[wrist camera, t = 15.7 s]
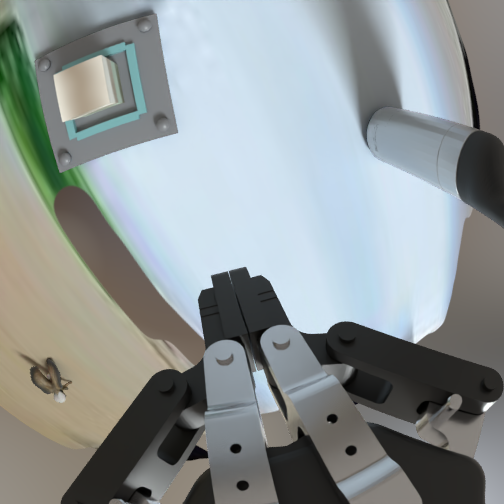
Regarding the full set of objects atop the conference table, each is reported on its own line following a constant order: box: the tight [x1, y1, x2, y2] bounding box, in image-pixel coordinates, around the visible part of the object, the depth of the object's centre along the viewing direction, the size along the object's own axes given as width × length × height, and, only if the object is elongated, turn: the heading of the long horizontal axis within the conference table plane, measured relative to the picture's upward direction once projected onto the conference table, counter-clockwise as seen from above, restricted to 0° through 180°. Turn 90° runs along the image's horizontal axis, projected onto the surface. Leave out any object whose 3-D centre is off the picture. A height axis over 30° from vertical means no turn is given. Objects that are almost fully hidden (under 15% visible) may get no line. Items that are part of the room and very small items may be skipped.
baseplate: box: [35, 14, 178, 173], centre depth 25 cm, size 16×16×2 cm
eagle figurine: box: [30, 358, 72, 403], centre depth 43 cm, size 8×7×9 cm
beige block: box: [53, 55, 125, 122], centre depth 21 cm, size 5×5×8 cm
